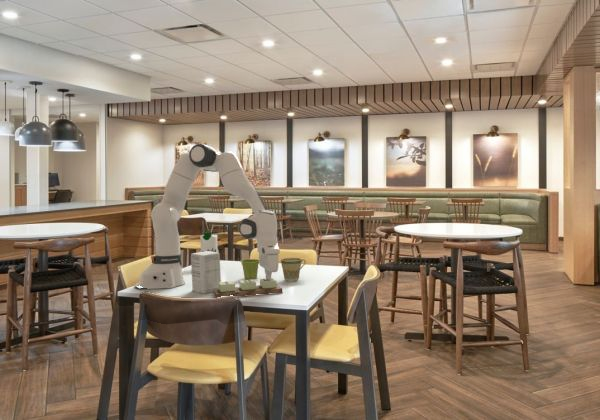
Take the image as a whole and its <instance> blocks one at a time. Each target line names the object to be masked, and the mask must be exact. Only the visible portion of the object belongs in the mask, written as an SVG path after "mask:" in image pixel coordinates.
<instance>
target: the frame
mask: <svg viewBox="0 0 600 420" xmlns="http://www.w3.org/2000/svg"><path fill="white" fill-rule="evenodd" d="M212 293H213V296H214V297H215V298H216V297H221V296H230V295H233V296H242V297H246V296H245V295H253V296H257V295H256V294H265V295H270V294H269V293H276V294H283V287H281V285H279V284H277V287H276V288H264V289H263V288H262V287H261V286H260V284H258V285H257V284H256V289H251V290H241V288H240V287H239V286H235V291H227V292H220V290H219V289H213V292H212Z"/></svg>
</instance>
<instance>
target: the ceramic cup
mask: <svg viewBox="0 0 600 420" xmlns="http://www.w3.org/2000/svg"><path fill="white" fill-rule="evenodd" d="M303 261H304V263H303V264H302V262H303ZM280 263H281V268H282V274H283V278H284V281H286V282H297V281H298V280H299V279H300V273H301V270H302V268H303V267H305V265H306V259H302V258H300V257H284V258H281V259H280Z"/></svg>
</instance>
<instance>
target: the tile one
mask: <svg viewBox="0 0 600 420" xmlns="http://www.w3.org/2000/svg"><path fill="white" fill-rule="evenodd" d="M218 285H219V290H220V292H227V291H235V287H236V284H235V281H232V280H229V281H221V282H218Z"/></svg>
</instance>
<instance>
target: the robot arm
mask: <svg viewBox="0 0 600 420" xmlns="http://www.w3.org/2000/svg"><path fill="white" fill-rule="evenodd" d="M200 171H205V172H212V173H216V172H218V175H219V177H220V180H221V184H222V185H223V188H224V190H225V191H226V192H227V193H229V194H230V195H233V196H235V197H239V198H241V199H243V200H245V202H247V203H248V204H249V207H250V208H251V211H252V212H253V215H250V216H248V217H245V218H243V219H241V221H240V223H239V226H238V231H239V234H240V235H241V237H242V238H243V239H245V240H255V239H256V242H257V243H256V246H257V247H256V248H257V251H256V252H258V260H259V264H258V265H259V266H260V267H262V268H263V269H264V274H265V279H267V280H271V278H272V275H273V273H277V272H278V270H279V260H280V259H279V257H280V256H279V254H280V251H281V249H280V247H279V245H278V244H279V243H278V235H277V233H278V220H277V216H276V213H275V212H274V211H273V210H270V209H267V207H266V205H265V204H264V201H263V200H262V198H261V196H260V194H259V192H258V191H257V189H256V187H255V186H254V185H253V184H252V183H251V181H250V180H249V179H248V177H247V175H246V172H245V170H244V168H243V165H242V163H241V161H240V159H239V158H238V157H237V155H236V153H234V152H233V151H224V152H222V150H220V149H217V148H216V147H214V146H211V145H207V144H205V143H197V144H195V145H193V146H192V147H191V148H190V150H189V152H184V153H182V154H181V155H180V157H179V158H178V160H177V161H176V162H175V165H174V167H173V168H172V171H171V173H170V175H169V178H168V180H167V183H166V185H165V188H164V192H163V197H162V199H161V202H158V203H157V204H156V205H154V206H153V208H152V210H151V212H150V218H151V221H152V227H153V231H154V232H153V233H154V237H155V255H153V254H152V255H151V256H150V259H151V264H150V265H148V267H146V268H144V270H142V272H141V274H140V276H139V281H138V282H136V283H135V286H139V285H140V286H142V287H143V288H147V289H146V290H152V289H153V290H156V289H158V290H159V289H173V288H175V287H178V286H179V287H180V286H182V285H184V284H185V283H186V282H185V279H184V275H183V269H182V263H183V256H182V253H181V237H180V233H179V227H178V222H179V221H180V219H181V216H182V214H183V212H184V210H185V206H186V203H187V199H188V197H189V194H190V192H191V191H192V187H193V185H194V182H195V180H196V179H197V176H198V174H199V172H200Z"/></svg>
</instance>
